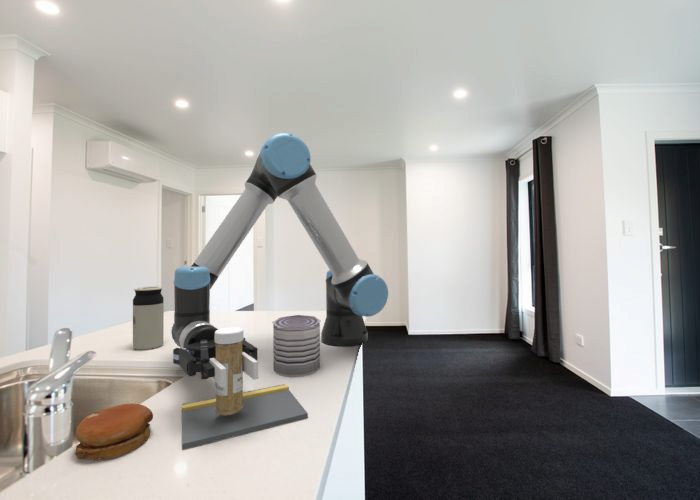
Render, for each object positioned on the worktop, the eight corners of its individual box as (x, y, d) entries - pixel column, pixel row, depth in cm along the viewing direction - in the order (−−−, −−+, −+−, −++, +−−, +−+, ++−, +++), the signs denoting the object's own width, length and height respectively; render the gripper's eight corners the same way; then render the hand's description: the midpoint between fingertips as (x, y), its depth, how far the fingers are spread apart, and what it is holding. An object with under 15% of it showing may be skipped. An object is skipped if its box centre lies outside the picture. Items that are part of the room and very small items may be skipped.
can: (325, 362, 84) (325, 315, 84) (311, 379, 73) (311, 325, 73) (284, 359, 86) (284, 314, 86) (264, 375, 75) (264, 323, 75)
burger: (142, 455, 46) (141, 422, 46) (60, 470, 43) (60, 434, 43) (158, 421, 55) (158, 394, 55) (92, 431, 52) (92, 402, 52)
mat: (284, 388, 68) (284, 381, 68) (307, 417, 55) (307, 409, 55) (182, 408, 59) (182, 400, 59) (182, 449, 47) (182, 439, 47)
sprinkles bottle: (247, 411, 54) (247, 330, 54) (218, 419, 51) (218, 334, 51) (239, 401, 57) (239, 325, 58) (211, 408, 55) (211, 328, 55)
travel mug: (165, 342, 104) (165, 286, 105) (160, 348, 97) (160, 288, 97) (136, 344, 101) (136, 287, 102) (129, 351, 94) (129, 289, 94)
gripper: (243, 352, 74) (291, 384, 55) (155, 369, 63) (177, 416, 45) (243, 319, 74) (290, 340, 55) (155, 330, 63) (177, 361, 45)
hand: (240, 374), depth 50 cm, fingers closed on sprinkles bottle, 4 cm apart
